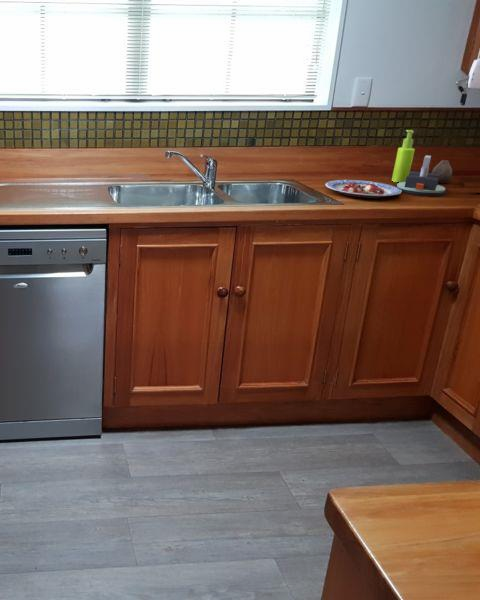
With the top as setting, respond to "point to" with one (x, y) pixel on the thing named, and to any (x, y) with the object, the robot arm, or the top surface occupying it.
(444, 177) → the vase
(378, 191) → the ceramic plate
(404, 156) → the soap dispenser
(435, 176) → the dish rack
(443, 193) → the turntable base
